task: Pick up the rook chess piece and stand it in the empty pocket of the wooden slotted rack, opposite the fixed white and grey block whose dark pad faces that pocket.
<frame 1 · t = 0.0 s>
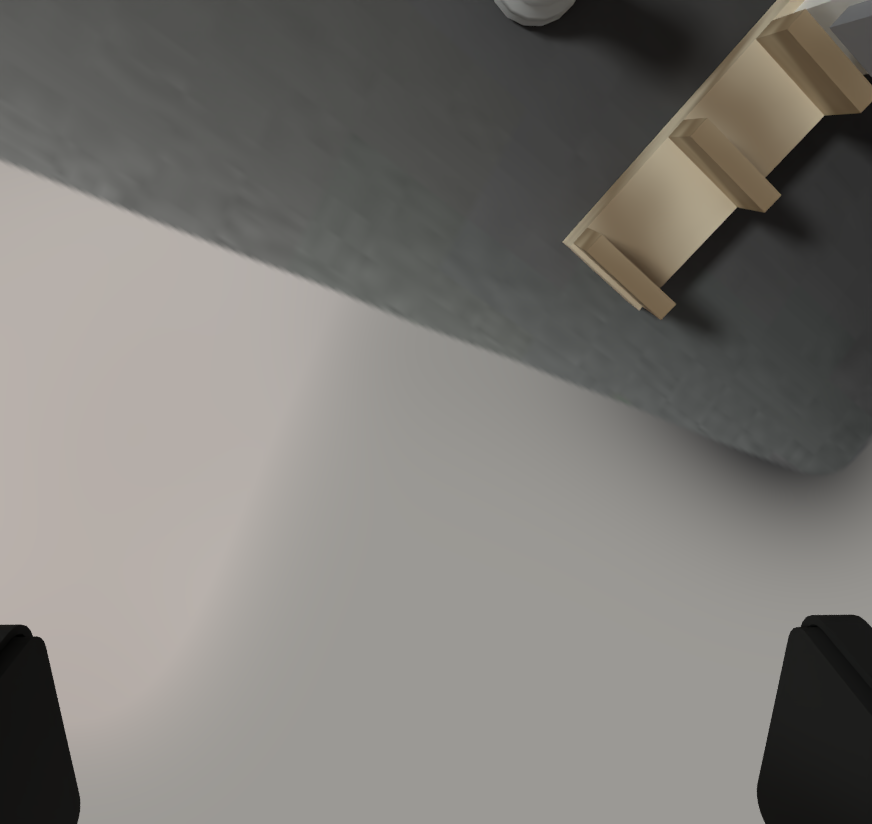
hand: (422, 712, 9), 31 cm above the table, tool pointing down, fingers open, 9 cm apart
wooden slotted rack: (736, 119, 36), on the table
white and grey block: (854, 8, 33), resting on wooden slotted rack
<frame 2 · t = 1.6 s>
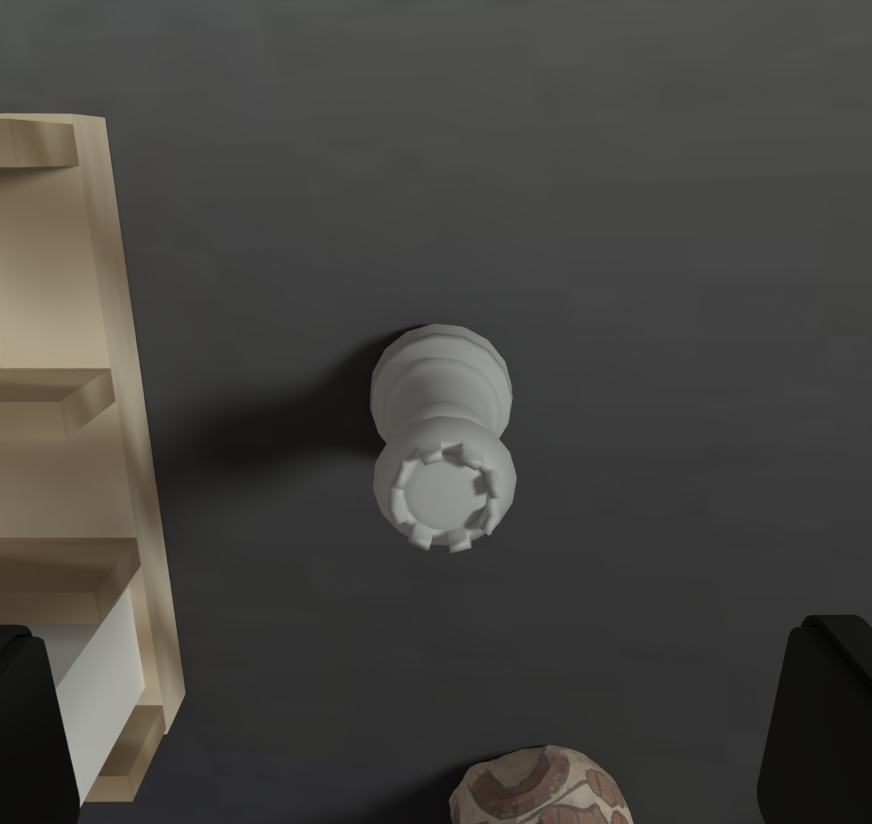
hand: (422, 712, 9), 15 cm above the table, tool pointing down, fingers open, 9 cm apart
figurine: (536, 808, 29), on the table
rook chess piece: (440, 386, 23), on the table
wooden slotted rack: (74, 446, 24), on the table
white and grey block: (76, 638, 24), resting on wooden slotted rack
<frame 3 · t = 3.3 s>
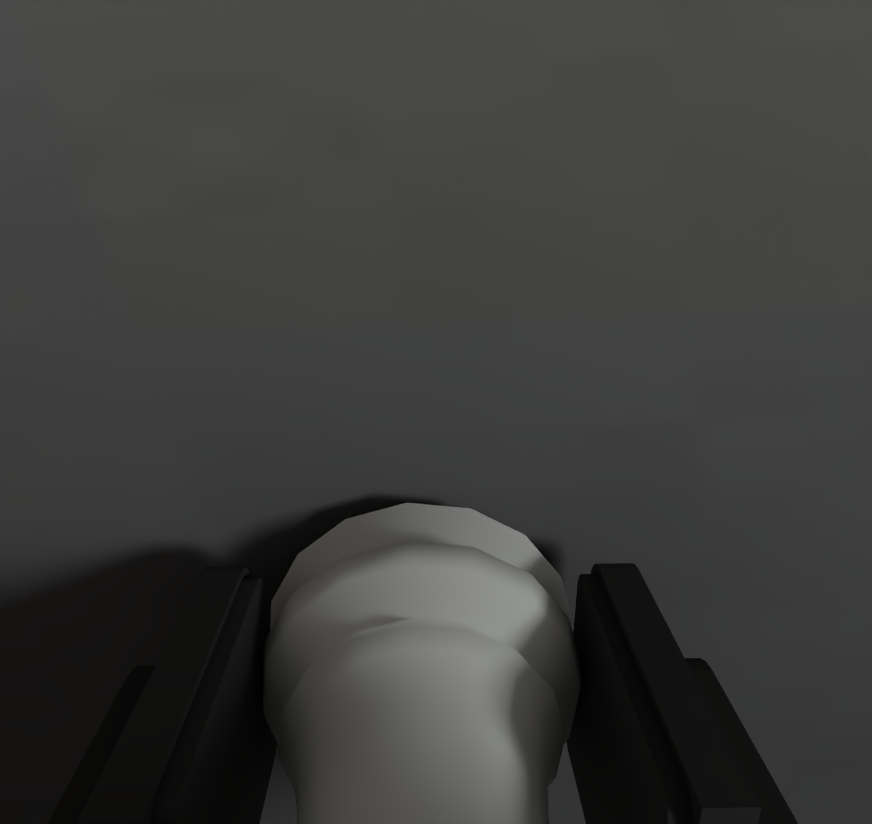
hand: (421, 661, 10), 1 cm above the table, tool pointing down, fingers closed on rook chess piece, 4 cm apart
rook chess piece: (421, 610, 11), on the table, touching gripper
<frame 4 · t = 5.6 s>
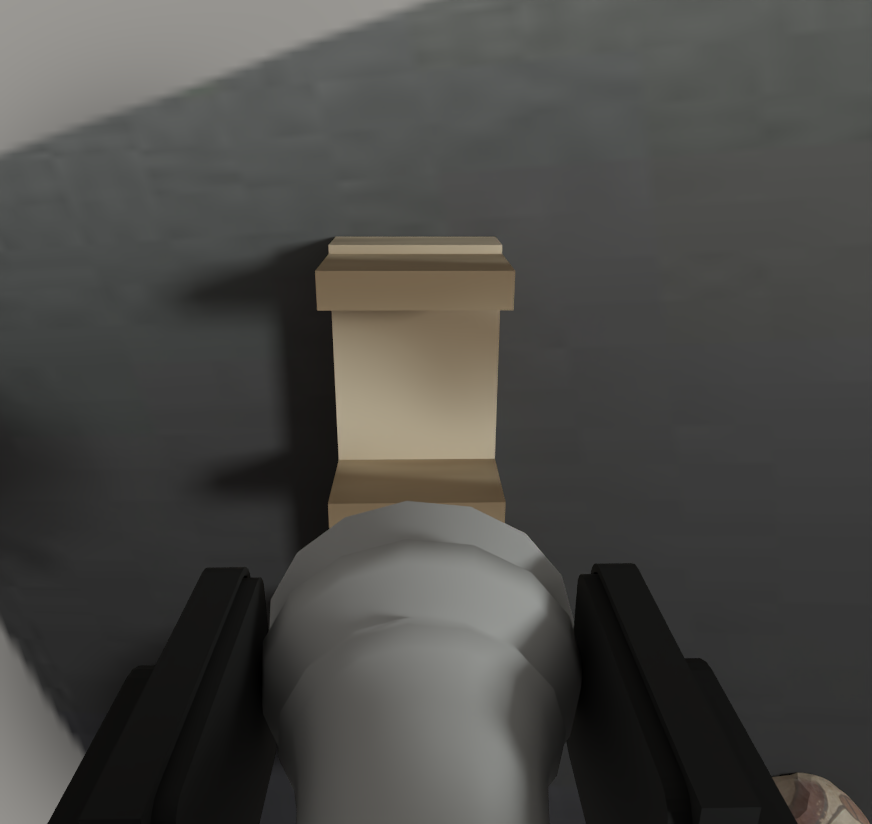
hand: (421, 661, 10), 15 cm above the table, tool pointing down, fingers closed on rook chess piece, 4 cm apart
rook chess piece: (421, 609, 11), point 14 cm above the table, touching gripper
wooden slotted rack: (417, 518, 26), on the table
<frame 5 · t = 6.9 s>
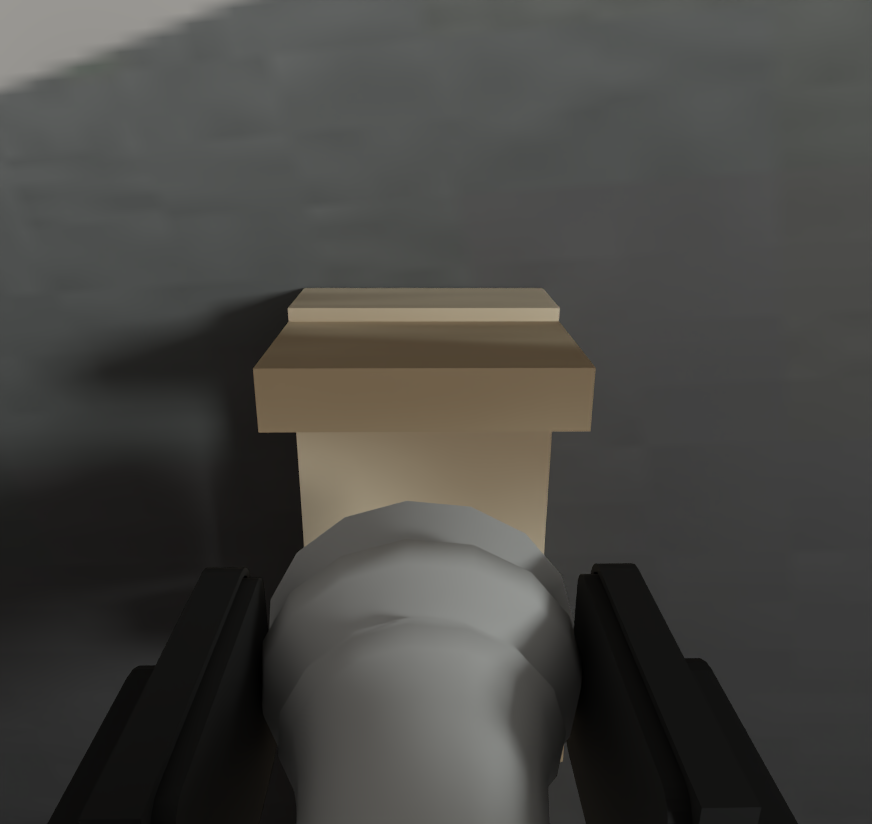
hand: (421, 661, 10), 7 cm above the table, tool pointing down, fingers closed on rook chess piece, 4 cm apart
rook chess piece: (421, 609, 11), point 6 cm above the table, touching gripper
wooden slotted rack: (424, 674, 19), on the table
when the fingers open (4 cm above the table, at t = 7.8 s): rook chess piece stays where it is, resting on wooden slotted rack.
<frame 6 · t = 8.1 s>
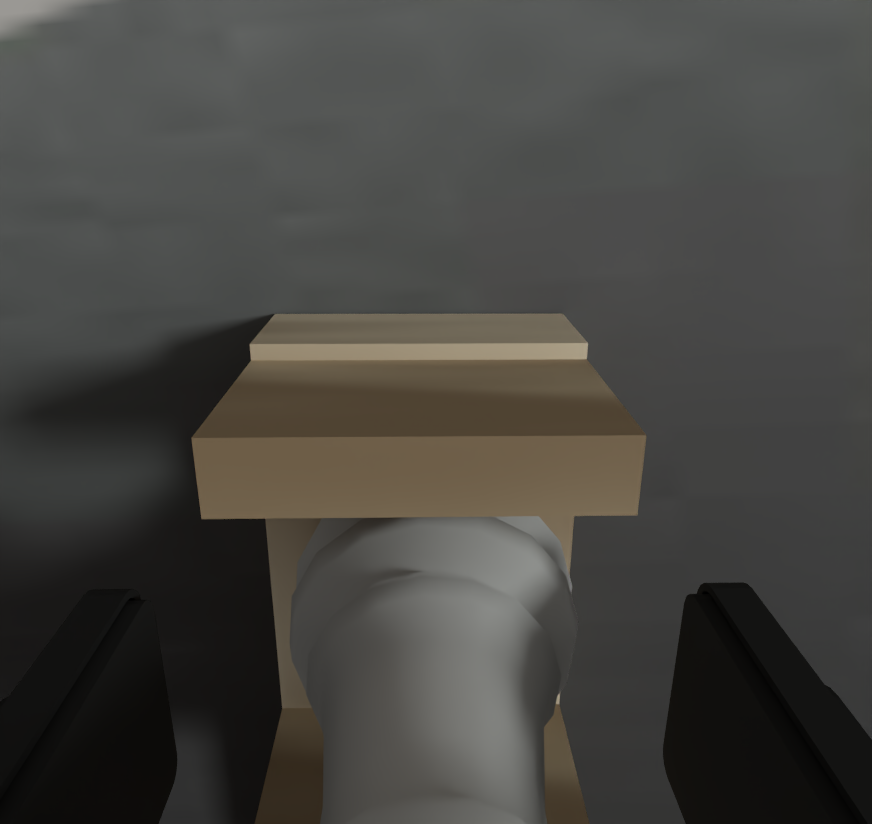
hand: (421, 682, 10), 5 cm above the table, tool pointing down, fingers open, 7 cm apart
rook chess piece: (433, 573, 12), point 2 cm above the table, touching wooden slotted rack
wooden slotted rack: (421, 756, 16), on the table
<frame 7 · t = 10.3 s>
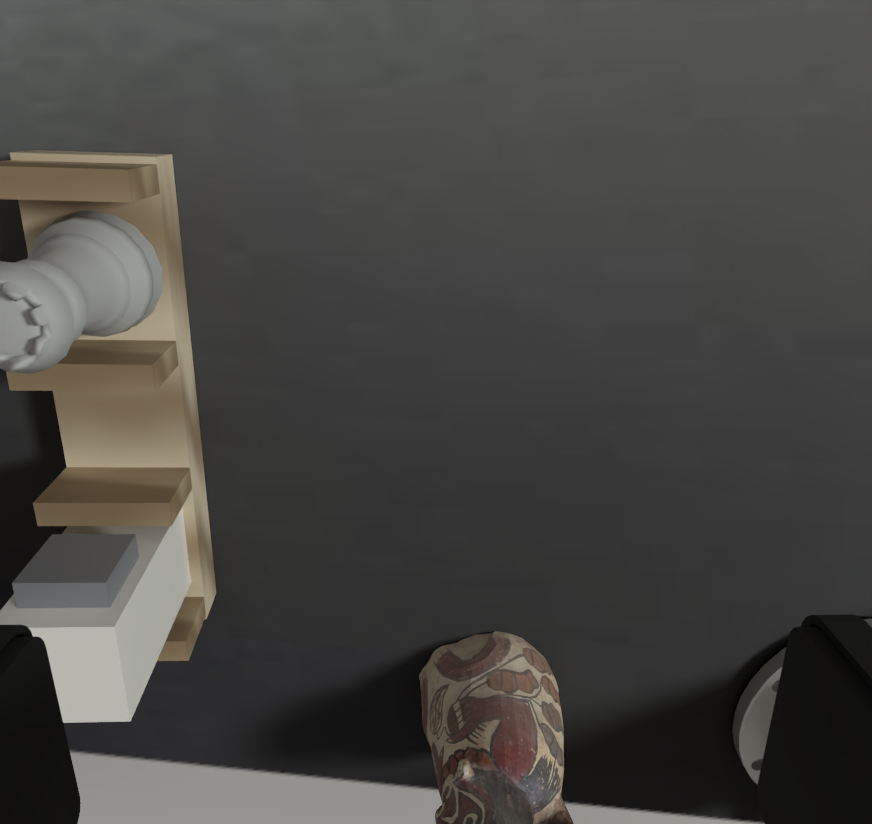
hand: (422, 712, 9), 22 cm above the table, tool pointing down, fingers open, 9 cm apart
figurine: (485, 682, 38), on the table
rook chess piece: (107, 269, 27), point 2 cm above the table, touching wooden slotted rack
wooden slotted rack: (137, 399, 31), on the table
white and grey block: (139, 544, 31), resting on wooden slotted rack
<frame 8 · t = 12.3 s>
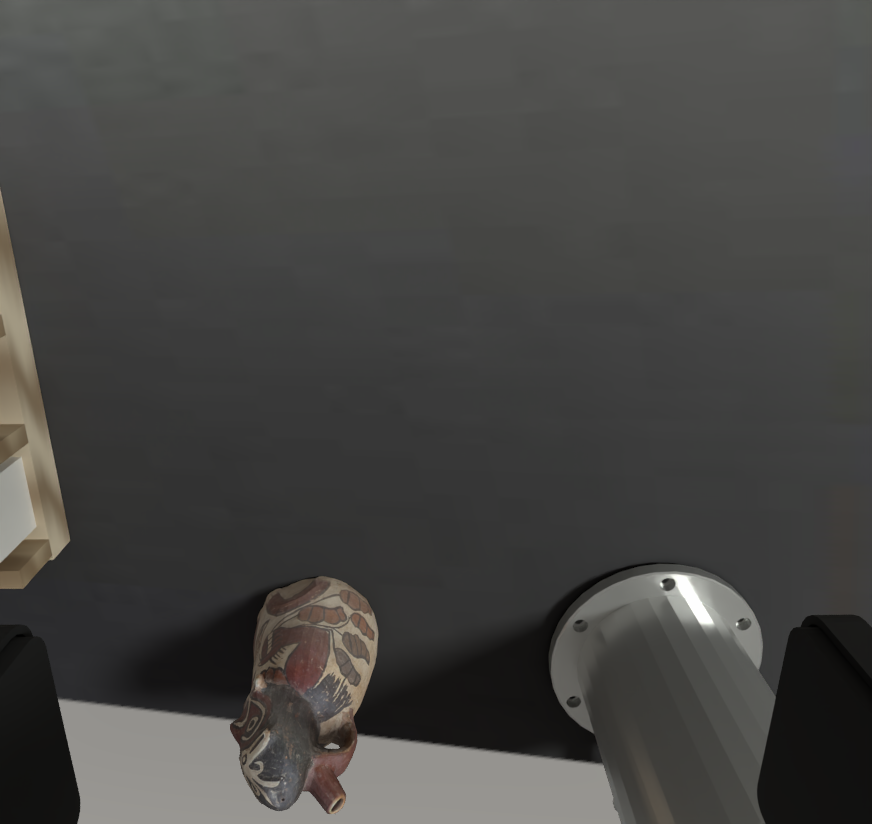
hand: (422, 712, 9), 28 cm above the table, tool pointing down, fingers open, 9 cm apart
figurine: (319, 624, 43), on the table
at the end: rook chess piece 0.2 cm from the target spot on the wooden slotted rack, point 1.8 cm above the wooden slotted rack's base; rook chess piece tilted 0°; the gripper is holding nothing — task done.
